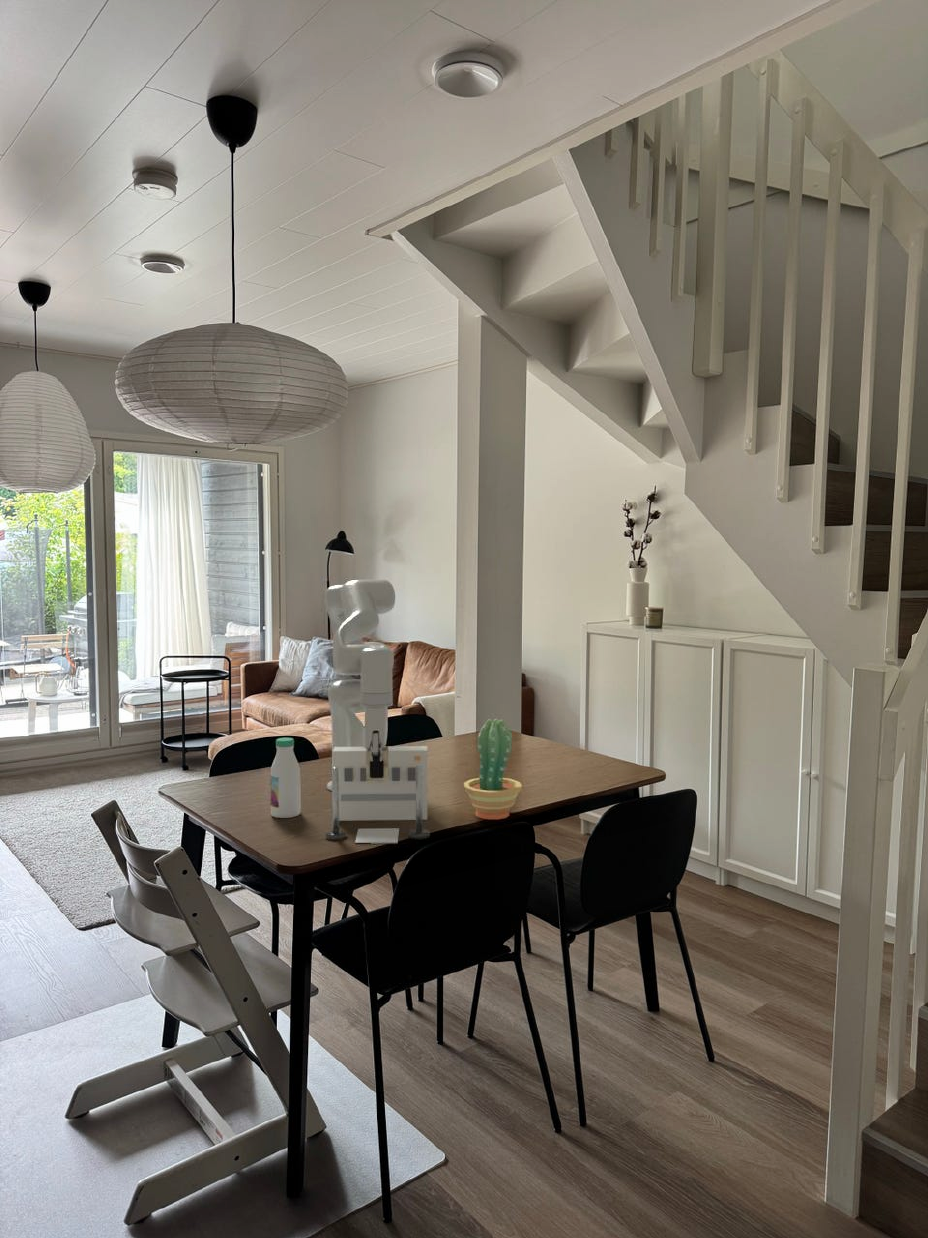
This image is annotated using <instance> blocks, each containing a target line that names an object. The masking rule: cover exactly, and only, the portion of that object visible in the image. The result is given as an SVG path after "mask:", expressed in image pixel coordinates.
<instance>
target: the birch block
mask: <svg viewBox="0 0 928 1238" xmlns="http://www.w3.org/2000/svg"><path fill="white" fill-rule="evenodd" d="M372 748H373V747H372ZM378 748H381V747H378ZM370 749H371V746H369V747H368V748H367V750H366V781H388V747H384V748H383V750H382V761H383V762H384V777H383V778H370V761H371V760H370V757H371V750H370ZM379 752H380V751H379Z"/></svg>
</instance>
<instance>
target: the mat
mask: <svg viewBox="0 0 928 1238" xmlns="http://www.w3.org/2000/svg"><path fill="white" fill-rule="evenodd" d="M399 834H400V827H398V828H397V827H396V828H395V827H394V828H391V827H390V828H389V827H388V828H382V827H381V828H378V827H377V828H358V829H357V833H356V836H355V841H354V844H355V843H371V844H373V845H374V844H398V842H399V836H400V835H399ZM371 844H370V845H371Z"/></svg>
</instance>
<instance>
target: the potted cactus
mask: <svg viewBox="0 0 928 1238" xmlns="http://www.w3.org/2000/svg"><path fill="white" fill-rule="evenodd" d="M512 738H513V734H512V732H511V731H510V729H509V727H508V726H507V725H506V723H505V721H504V720H503V719H498V718H494V719H491V718H488V719H487V720H486V722H485V723H484V724H483V726H482V727H481V729H480V731H479V732H478V735H477V746H478V747H477V748H478V750H477V751H478V756H479V760H480V766H479V767H480V769H479V777H477V778H472V779H468V780H466V781H465V782H463V786H464V787H463V788H464V791H465V793H466V794H467V795H468V797H469V801H470V804H471V805H472V806H473V808H474V809H475V816H476V817H478V818H480V819H485V820H501V819H502V820H503V819H507V818H508V817H510V812H509V811H510V810H511V809H512V807H513V806H514V804H515V803H516V801H517V797H518V795H519V794H520V793H521V791H522V786H523V785H522V783H521V782H520V781H518V780H515V779H512V778H509V777H507V778H506V777H504V774H505V770H506V765H507V760H508V758H509V755H510V753H511V751H512V743H513V742H512V741H513V740H512Z"/></svg>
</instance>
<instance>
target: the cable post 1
mask: <svg viewBox="0 0 928 1238" xmlns="http://www.w3.org/2000/svg"><path fill="white" fill-rule="evenodd" d="M331 781H332V791H331V808H332V809H331V812H332V813H331V814H332V815H331V817H332V818H331V820H332V821H331V823H332V824H331V825H332V826H331V827H332V830H328V831H326V832H324V833H325V836H324V837H325V838H324V839H325V840H327V839H329V840H328V841H332V840H337V841H341V840H340V839H343V840H345V839H346V838H347V831H346V830H344V829H343V830H342V829H340V821H339V767H332V766H331ZM345 837H346V838H345ZM344 838H345V839H344Z"/></svg>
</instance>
